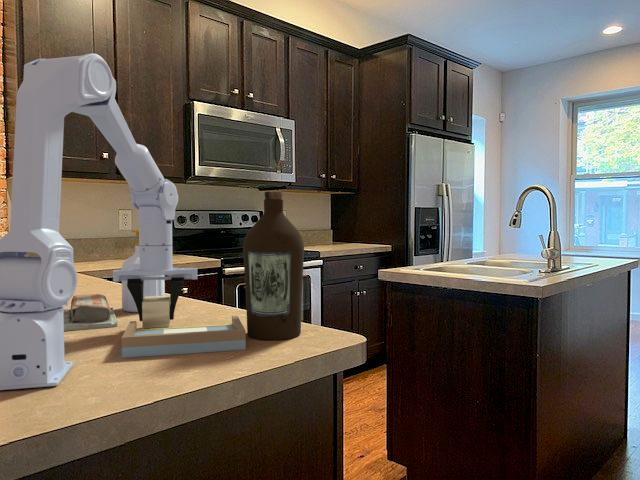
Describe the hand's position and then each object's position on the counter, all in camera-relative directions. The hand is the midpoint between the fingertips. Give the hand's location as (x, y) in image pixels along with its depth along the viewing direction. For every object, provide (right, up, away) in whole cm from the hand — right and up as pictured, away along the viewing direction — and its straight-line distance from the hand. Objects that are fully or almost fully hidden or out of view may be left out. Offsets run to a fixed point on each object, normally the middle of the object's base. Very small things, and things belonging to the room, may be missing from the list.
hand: (157, 319), depth 91 cm
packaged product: (-17, -2, +9) cm, 19 cm away
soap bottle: (-10, -1, +21) cm, 23 cm away
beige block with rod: (0, -2, 0) cm, 2 cm away
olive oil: (+22, -2, -3) cm, 22 cm away
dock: (+8, -2, -10) cm, 13 cm away
